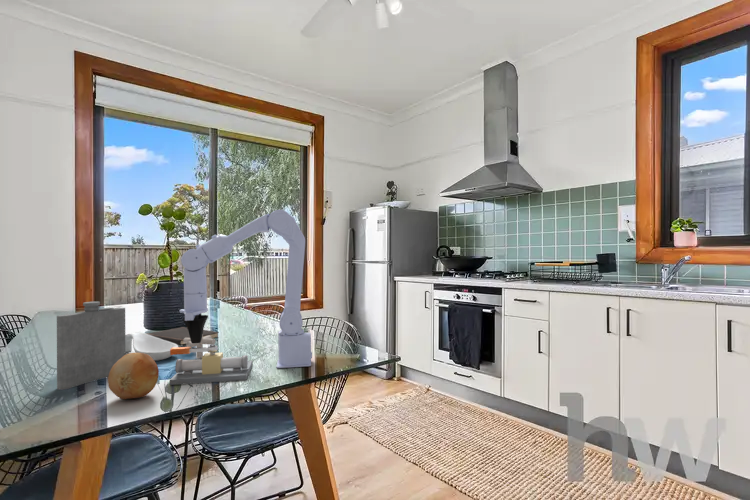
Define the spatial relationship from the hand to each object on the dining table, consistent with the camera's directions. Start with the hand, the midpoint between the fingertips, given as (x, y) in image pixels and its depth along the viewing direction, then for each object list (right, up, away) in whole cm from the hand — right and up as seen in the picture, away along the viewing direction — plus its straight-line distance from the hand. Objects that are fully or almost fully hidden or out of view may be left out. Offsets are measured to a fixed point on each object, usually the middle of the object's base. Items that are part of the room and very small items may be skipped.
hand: (196, 342), depth 110 cm
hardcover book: (-25, -9, +44) cm, 52 cm away
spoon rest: (-23, -9, +16) cm, 30 cm away
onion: (-5, -8, -21) cm, 23 cm away
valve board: (+6, -8, -3) cm, 10 cm away
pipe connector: (-5, -8, +14) cm, 17 cm away
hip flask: (-24, -8, -7) cm, 26 cm away
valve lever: (+2, -1, -6) cm, 7 cm away
